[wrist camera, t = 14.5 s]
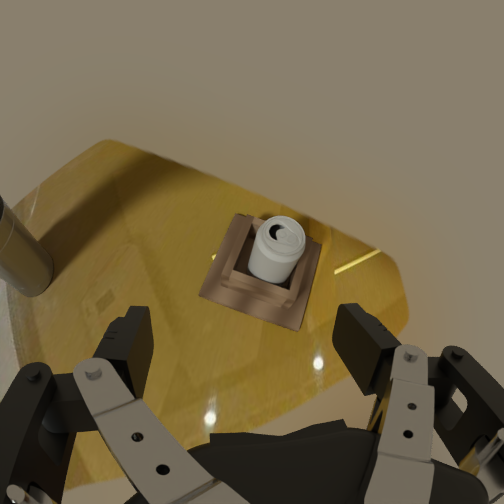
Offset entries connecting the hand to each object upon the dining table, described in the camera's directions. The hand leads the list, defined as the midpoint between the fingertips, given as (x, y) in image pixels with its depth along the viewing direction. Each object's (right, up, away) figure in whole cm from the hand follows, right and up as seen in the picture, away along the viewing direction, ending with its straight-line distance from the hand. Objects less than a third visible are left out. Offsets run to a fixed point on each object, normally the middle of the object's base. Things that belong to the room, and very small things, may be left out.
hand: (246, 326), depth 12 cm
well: (+2, 0, +35) cm, 35 cm away
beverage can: (+3, 0, +34) cm, 34 cm away
